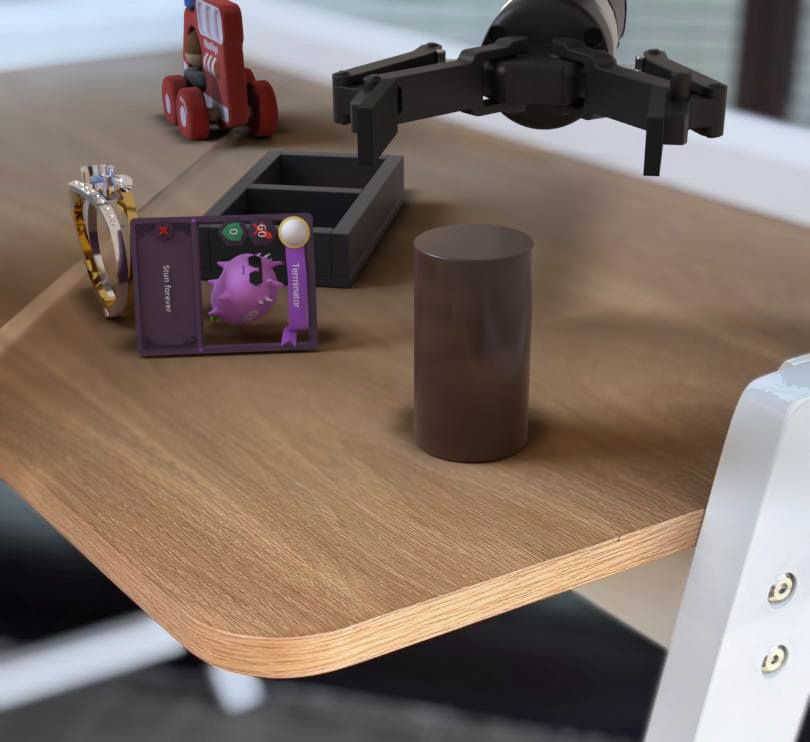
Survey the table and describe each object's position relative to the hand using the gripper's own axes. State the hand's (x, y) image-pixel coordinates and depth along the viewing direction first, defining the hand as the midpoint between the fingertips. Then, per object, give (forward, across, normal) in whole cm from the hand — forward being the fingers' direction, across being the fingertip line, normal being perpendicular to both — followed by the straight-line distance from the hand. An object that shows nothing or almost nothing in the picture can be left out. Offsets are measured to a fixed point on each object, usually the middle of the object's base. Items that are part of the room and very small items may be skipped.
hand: (506, 142), depth 70 cm
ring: (-2, +21, -11) cm, 24 cm away
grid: (-17, +14, -10) cm, 24 cm away
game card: (0, +14, -11) cm, 18 cm away
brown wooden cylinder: (+10, 0, -10) cm, 15 cm away
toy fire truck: (-42, +27, -11) cm, 51 cm away
